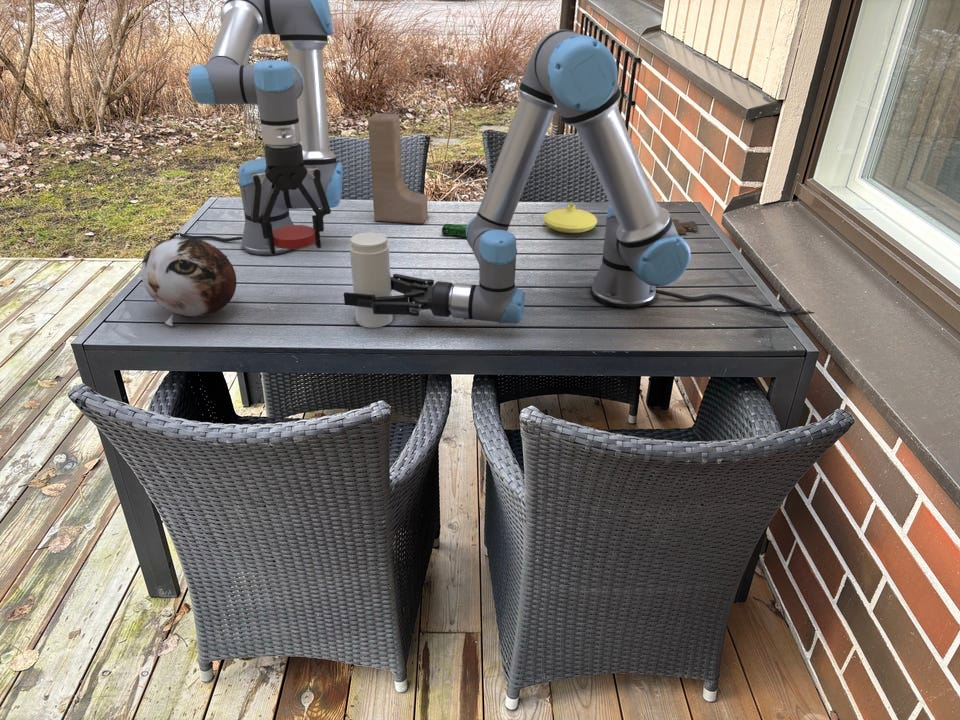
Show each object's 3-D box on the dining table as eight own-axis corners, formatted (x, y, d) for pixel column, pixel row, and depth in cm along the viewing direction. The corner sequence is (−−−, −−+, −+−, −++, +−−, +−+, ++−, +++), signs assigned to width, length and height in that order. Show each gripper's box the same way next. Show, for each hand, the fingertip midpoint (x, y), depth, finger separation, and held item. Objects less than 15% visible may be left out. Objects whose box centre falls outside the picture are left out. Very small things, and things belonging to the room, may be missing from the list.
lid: (269, 249, 150) (267, 240, 149) (276, 234, 158) (275, 225, 157) (313, 248, 151) (312, 239, 150) (318, 233, 159) (317, 224, 158)
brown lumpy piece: (700, 236, 208) (693, 224, 217) (701, 230, 207) (694, 219, 216) (612, 233, 208) (607, 221, 217) (613, 227, 207) (608, 216, 216)
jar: (355, 328, 156) (348, 246, 146) (356, 311, 163) (349, 232, 153) (393, 326, 157) (389, 244, 147) (392, 309, 164) (388, 230, 155)
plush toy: (103, 301, 154) (138, 216, 155) (170, 324, 169) (201, 246, 171) (169, 326, 143) (206, 234, 145) (233, 348, 159) (266, 265, 160)
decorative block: (423, 224, 212) (420, 120, 197) (373, 221, 214) (367, 118, 199) (428, 216, 219) (425, 114, 203) (380, 213, 220) (374, 112, 205)
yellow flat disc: (559, 216, 220) (561, 193, 217) (605, 227, 212) (608, 204, 209) (532, 230, 209) (533, 207, 206) (580, 242, 201) (582, 218, 198)
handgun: (511, 219, 210) (493, 234, 198) (511, 228, 211) (492, 244, 199) (461, 212, 215) (440, 226, 203) (461, 221, 217) (440, 236, 204)
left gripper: (228, 152, 138) (246, 261, 149) (340, 143, 145) (349, 248, 156) (224, 144, 143) (241, 249, 155) (331, 135, 151) (340, 236, 162)
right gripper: (440, 338, 147) (336, 326, 151) (462, 295, 165) (368, 285, 168) (440, 305, 143) (332, 294, 147) (462, 264, 161) (366, 256, 165)
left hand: (295, 248), depth 156 cm, fingers closed on lid, 9 cm apart
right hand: (352, 289), depth 158 cm, fingers closed on jar, 8 cm apart
